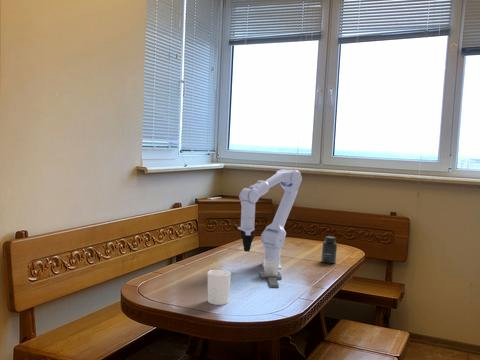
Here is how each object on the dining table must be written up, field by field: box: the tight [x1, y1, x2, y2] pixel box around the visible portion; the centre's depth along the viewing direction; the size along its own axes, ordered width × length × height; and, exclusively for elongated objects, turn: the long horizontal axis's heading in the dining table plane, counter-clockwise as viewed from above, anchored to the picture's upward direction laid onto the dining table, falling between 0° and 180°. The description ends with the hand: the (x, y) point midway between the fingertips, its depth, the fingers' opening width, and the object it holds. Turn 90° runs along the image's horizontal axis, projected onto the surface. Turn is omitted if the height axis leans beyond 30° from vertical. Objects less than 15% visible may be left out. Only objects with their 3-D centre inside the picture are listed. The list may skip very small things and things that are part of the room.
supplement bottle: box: [320, 235, 338, 264], centre depth 230 cm, size 7×7×12 cm
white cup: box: [207, 269, 232, 306], centre depth 166 cm, size 8×8×10 cm
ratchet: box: [259, 270, 283, 288], centre depth 195 cm, size 19×8×4 cm, turn 2°
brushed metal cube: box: [263, 257, 279, 276], centre depth 200 cm, size 5×5×6 cm
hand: (246, 249), depth 206 cm, fingers open, 7 cm apart
